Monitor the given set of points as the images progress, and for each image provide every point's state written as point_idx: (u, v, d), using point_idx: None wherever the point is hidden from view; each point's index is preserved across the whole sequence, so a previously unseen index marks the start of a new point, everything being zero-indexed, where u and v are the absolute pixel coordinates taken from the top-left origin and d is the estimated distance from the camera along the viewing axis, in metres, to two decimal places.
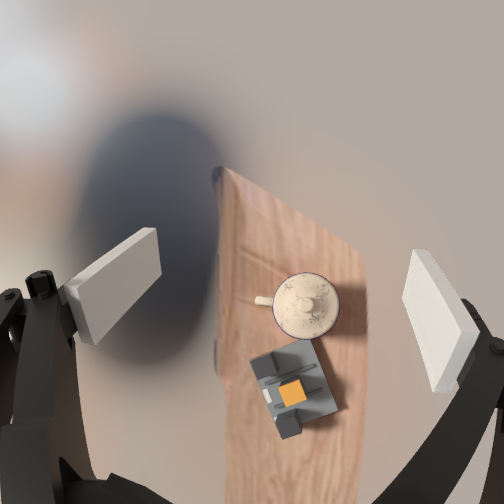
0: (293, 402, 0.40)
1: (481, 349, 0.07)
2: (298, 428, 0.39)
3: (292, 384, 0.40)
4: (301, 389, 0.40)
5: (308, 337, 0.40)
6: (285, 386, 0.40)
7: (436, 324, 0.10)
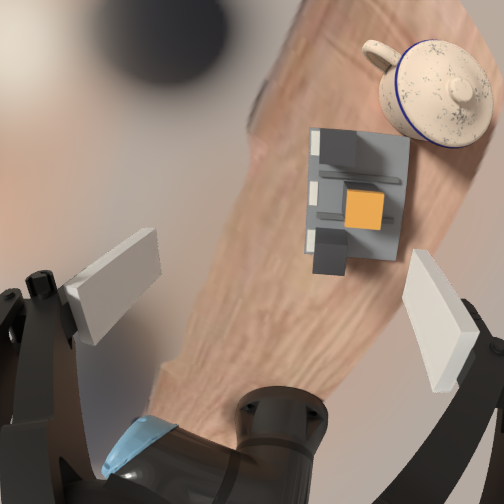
0: (359, 225, 0.25)
1: (481, 349, 0.07)
2: (343, 267, 0.28)
3: (372, 195, 0.24)
4: (380, 210, 0.24)
5: (434, 138, 0.19)
6: (360, 194, 0.24)
7: (436, 324, 0.10)
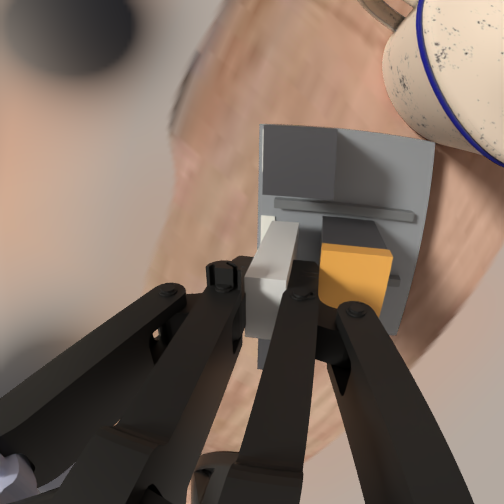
0: None
1: (282, 302, 0.10)
2: None
3: (370, 259, 0.13)
4: (383, 286, 0.13)
5: (498, 152, 0.08)
6: (345, 256, 0.13)
7: None
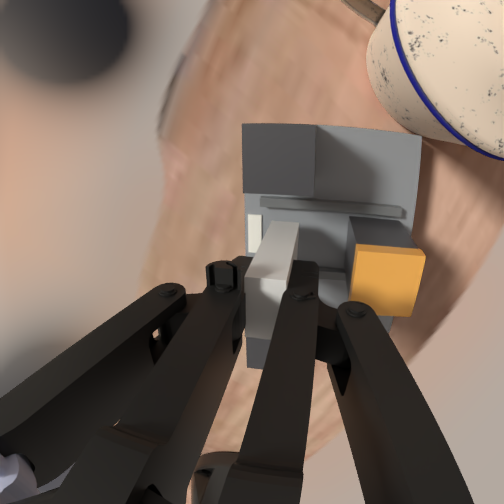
0: (375, 310, 0.13)
1: (282, 302, 0.10)
2: None
3: (404, 259, 0.12)
4: (415, 285, 0.12)
5: (480, 140, 0.08)
6: (381, 257, 0.12)
7: None
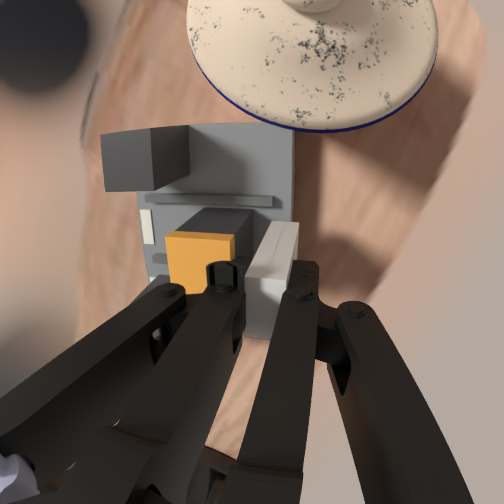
0: (194, 293, 0.15)
1: (282, 302, 0.10)
2: None
3: (208, 244, 0.14)
4: None
5: (272, 115, 0.09)
6: (185, 241, 0.14)
7: None
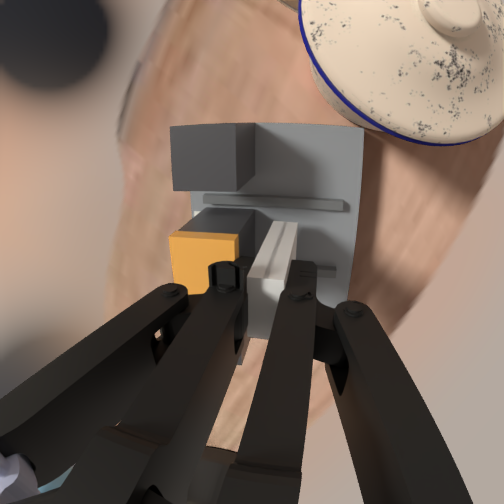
0: (198, 293, 0.15)
1: (280, 301, 0.10)
2: None
3: (212, 244, 0.14)
4: None
5: (396, 125, 0.09)
6: (189, 241, 0.14)
7: None
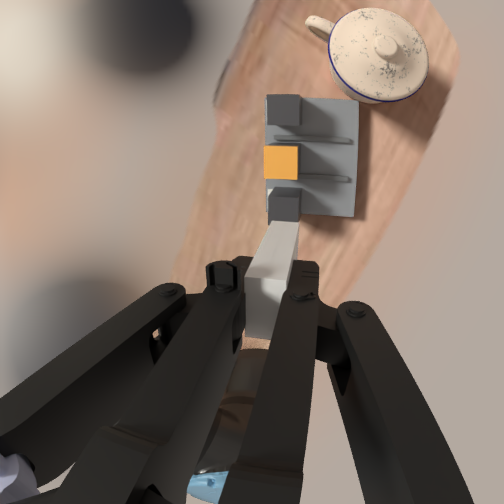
0: (277, 176, 0.29)
1: (282, 302, 0.10)
2: (296, 218, 0.31)
3: (286, 148, 0.27)
4: (295, 162, 0.28)
5: (367, 93, 0.22)
6: (274, 148, 0.28)
7: None
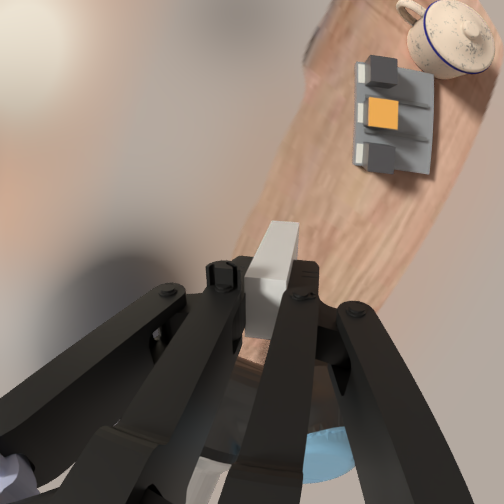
0: (380, 124, 0.28)
1: (282, 302, 0.10)
2: (392, 165, 0.30)
3: (389, 101, 0.27)
4: (396, 113, 0.27)
5: (455, 64, 0.22)
6: (379, 100, 0.27)
7: None
